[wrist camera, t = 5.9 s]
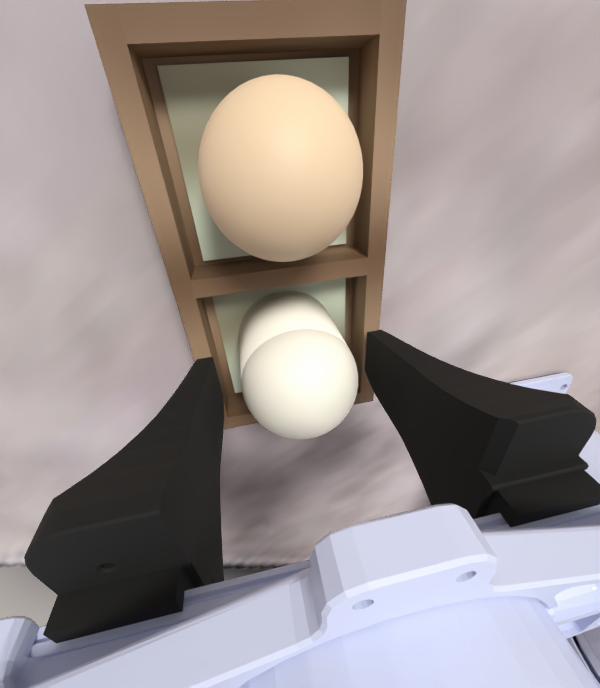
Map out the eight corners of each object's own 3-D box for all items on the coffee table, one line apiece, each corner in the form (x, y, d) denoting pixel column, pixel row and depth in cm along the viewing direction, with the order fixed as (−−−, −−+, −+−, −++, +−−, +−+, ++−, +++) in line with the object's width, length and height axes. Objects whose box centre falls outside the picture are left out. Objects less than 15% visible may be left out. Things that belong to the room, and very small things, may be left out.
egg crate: (358, 374, 18) (373, 400, 16) (217, 400, 17) (216, 430, 15) (374, 23, 10) (406, -4, 8) (112, 31, 9) (84, 4, 7)
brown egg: (326, 225, 12) (384, 273, 8) (220, 237, 12) (215, 296, 7) (324, 90, 10) (402, 48, 6) (192, 99, 10) (160, 59, 5)
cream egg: (332, 285, 14) (384, 356, 9) (330, 365, 16) (370, 453, 12) (232, 296, 13) (233, 378, 9) (245, 377, 16) (251, 475, 11)
